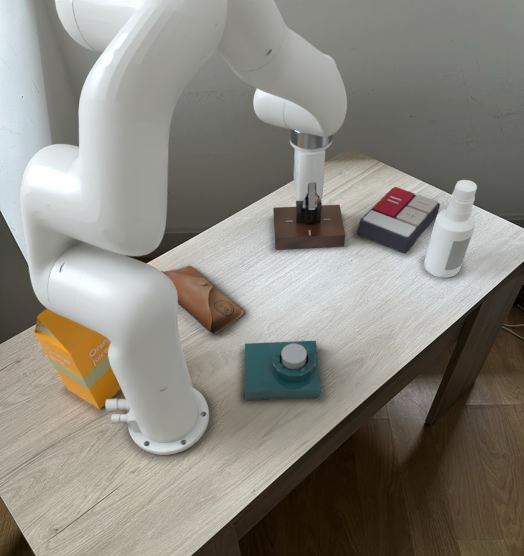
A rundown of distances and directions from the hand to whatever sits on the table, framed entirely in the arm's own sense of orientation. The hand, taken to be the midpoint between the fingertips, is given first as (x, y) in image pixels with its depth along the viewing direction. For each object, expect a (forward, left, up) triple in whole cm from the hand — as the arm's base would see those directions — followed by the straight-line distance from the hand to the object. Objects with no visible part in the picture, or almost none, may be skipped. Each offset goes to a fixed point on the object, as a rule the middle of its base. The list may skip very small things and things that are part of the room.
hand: (308, 218), depth 106 cm
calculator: (+19, +1, -4) cm, 19 cm away
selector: (0, 0, -4) cm, 4 cm away
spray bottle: (+25, -12, -4) cm, 28 cm away
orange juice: (-37, -36, -4) cm, 52 cm away
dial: (0, 0, -1) cm, 1 cm away
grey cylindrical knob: (-5, -36, 0) cm, 36 cm away
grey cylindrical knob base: (-7, -36, -4) cm, 37 cm away
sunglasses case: (-22, -18, -4) cm, 29 cm away
